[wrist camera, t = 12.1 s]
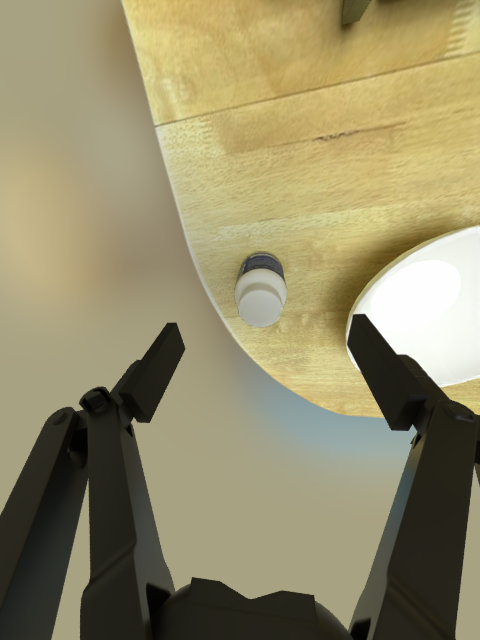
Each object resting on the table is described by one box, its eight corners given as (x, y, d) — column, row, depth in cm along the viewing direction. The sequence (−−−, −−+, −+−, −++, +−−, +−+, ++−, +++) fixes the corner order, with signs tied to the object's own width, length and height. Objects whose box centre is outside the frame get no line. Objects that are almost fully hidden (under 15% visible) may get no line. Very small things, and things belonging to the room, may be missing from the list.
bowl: (512, 164, 19) (623, 155, 13) (508, 320, 27) (573, 357, 21) (307, 270, 26) (319, 294, 20) (353, 367, 34) (371, 404, 28)
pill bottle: (238, 251, 25) (227, 282, 17) (282, 249, 25) (292, 280, 16) (241, 291, 28) (232, 334, 20) (281, 290, 27) (288, 334, 19)
